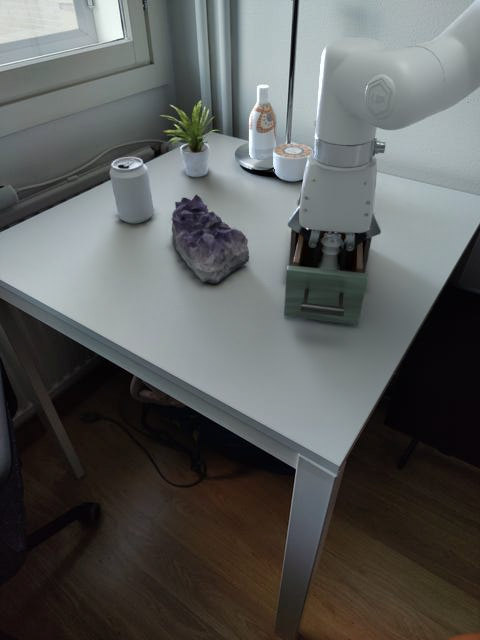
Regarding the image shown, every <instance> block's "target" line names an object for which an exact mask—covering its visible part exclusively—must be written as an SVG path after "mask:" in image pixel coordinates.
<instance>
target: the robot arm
mask: <svg viewBox="0 0 480 640" xmlns="http://www.w3.org/2000/svg"><path fill="white" fill-rule="evenodd" d="M479 88H480V0H474V1H473V2H472V3H471V4H470V5H469V6H468V7H467V8H466V9H465V10H464V11H463V12H462V13H461V14H460V15H459V16H458V17H456V19H455V20H454V21H453V22H451V24H450V25H448V26H447V27H446V28H445V29H444V30H442V32H441V33H440V34H439V35H437V36H436V37H435V38H434V39H432V40H429V41H424V42H420V43H416V44H413V45H410V46H407V47H405V48H399V49H395V50H390V51H389V50H388V48H387V46H386V44H385V43H384V42H383V41H381V40H379V39H375V38H371V37H361V36H360V37H359V36H357V37H356V36H352V37H351V36H349V37H341V38H336V39H334V40H331V41H330V42H328V43H327V44H326V45H325V47H324V48H323V51H322V53H321V60H320V71H319V83H318V95H317V108H316V118H315V121H316V131H315V130H314V134H315V135H314V145H313V153H311V154H310V155H309V156H308V159H307V163H306V167H305V172H304V178H303V179H302V186H301V188H302V192H301V201H300V205H299V206H298V208H297V209H296V208H295V210H294V212H293V213H292V214H291V216H290V217H289V218H288V221H287V227H288V228H289V229H293V230H294V231H296V232H298V233H300V235H301V236H302V237H303V238H304V239H305V240H306V241H307V242H308V243H309V246H310V247H311V249H310V260H309V262H314V265H313V268H318V264H319V255H320V246H321V240H320V237H319V235H320V231H321V230H323V231H335V232H346V239H345V240H344V242H343V244H342V251H341V258H340V268H339V271H344V269H345V265H347V266H349V265H350V259H351V252H352V250H354V247H356V246H357V245H359V244H360V243H362V242H363V241H365V240H366V239H367V238H371V237H372V238H373V237H376V236H379V235H380V234H381V233H382V226H381V224H380V222H379V219H378V217H377V215H376V213H375V211H374V206H375V199H376V190H377V189H376V188H377V173H378V166H377V165H378V164H377V158H376V157H375V156H376V155H378V154H385V151H386V141H380V140H378V138H376V134H377V128H378V129H381V130H384V131H385V130H386V131H398V130H401V129H405V128H407V127H411V126H412V125H414V124H417V123H419V122H421V121H423V120H425V119H427V118H429V117H432V116H434V115H436V114H439V113H441V112H444V111H446V110H448V109H450V108H453V107H454V106H455V105H457V104H458V103H460V102H461V101H463V100H465V99H466V98H467V97H469V96H470V95H471V94H473V93H474V92H475V91H477V90H478V89H479Z"/></svg>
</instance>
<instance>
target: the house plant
mask: <svg viewBox="0 0 480 640" xmlns="http://www.w3.org/2000/svg"><path fill="white" fill-rule="evenodd" d="M202 105H203V103H202V100H199V101H198V102H197V105H196V104H195V105H194V107H193V110H192V113H191V119H190V117H189V116H188V115H187V114H186V113H185V111H183V110H182V109H179V108H178V107H176V106H174V105H172V104H170V107H172V108H174V109H175V110H176V112H177V114H178V115H179V117H180V119H181V120H182V121H180V120H178V119H176V118H175V117H173V116H170V115H165V118H166V117H167V118H169V120H171V121H173V122H174V123H173V125H174V126H175V127H176V128H177V129H168V130H167V129H166V130H163V132H164V133H169V134H167V136H171V134H172V136H173V137H172V138H171V139H170V140H169V141H168V143H170V142H172V143H171V144H172V145H171V146H173V145H174V144H176V143H178V142H179V141H182V143H183V145H181V146H180V153H181V158H182V162H183V165H184V168H185V173H186V175H187V176H188V177H193V178H200V177H203V176H206V175H207V174H208V168H209V157H210V148H211V147H210V145H209V144H208V141H204V140H205V138H206V137H207V136H208V135H209V134H210V133H212V132H216V131H217V132H218V131H219V132H220V130H219V129H212V130H210V131H208V132H207V133H206V134H205V135H204V133H205V130H206V128H207V127H208V126H209V124H210V123H211V122H212V120H213V119H214V118H215V117H216V115H217V114H216V115H214V116H213V117H212V118H210V119H209V120H208V115H209V113H210V109H208V110H207V112H206V106H204V107H203V110H202V113H201V112H200V111H201V107H202ZM200 113H201V117H200ZM160 117H164V115H162V114H161V115H160ZM199 119H200V120H199ZM207 120H208V121H207ZM176 122H178V124H179V125H178V124H177V123H176ZM206 122H207V123H206ZM183 129H184V130H185V131H184V130H183ZM203 135H204V137H203ZM177 136H180V137H177ZM182 137H183V138H182ZM183 141H184V142H183Z"/></svg>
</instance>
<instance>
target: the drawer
mask: <svg viewBox="0 0 480 640" xmlns="http://www.w3.org/2000/svg"><path fill="white" fill-rule="evenodd" d="M319 237H320V240H321V239H322V238H323V237H324V235H319ZM341 239H342V240H343V242H344V240H345V239H346V237H341ZM323 246H324V245H323V244H322V242H321V246H320V255H319V263H320V261H321V258H322V254H323V251H322V247H323ZM310 249H311V247H310V246H309V243H308V242H307V241H306V240H305V239H304V238H303V237H302V236H301V235H300V233H299V238H298V243H297V247H296V252H295V257H294V262H293V266H290V265H289V264H288V265H287V267H286V276H285V290H284V291H285V293H284V308H283V316H284V317H292V318H302V319H309V320H318V321H325V322H334V323H340V324H341V323H342V324H350V325H359V321H360V317H361V312H362V307H363V302H364V297H365V292H366V287H367V283H368V273H366V272H365V273H362V251H363V242H362V243H360V244H359V245H357V246H356V247H354V250H352V252H351V259H350V265H349V266H347V265H345V269H344V271H339V270H329V269H320V268H313V265H314V262H309V260H310ZM339 249H340V252H339V254H338V263H339V266H340V258H341V251H342V245H341V246H340V247H339Z"/></svg>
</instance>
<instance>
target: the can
mask: <svg viewBox="0 0 480 640" xmlns="http://www.w3.org/2000/svg"><path fill="white" fill-rule="evenodd" d="M110 166H111V168H110V170H109V172H108V173H109V177H110V182H111V187H112V191H113V196H114V200H115V201H114V202H115V206H116V210H117V211H116V212H117V215H118V218H119V219H121V220H122V221H124V222H126V223H128V224H141V223H144V222H147V221H148V220H149V219H150V218H151V217H152V216H153V215H154V213H155V209H154V203H153V202H154V201H153V196H152V195H153V194H152V190H151V183H150V176H149V170H148V167H147V165H145V164H144V161H143V159H141V157H137V156H125V157H120V158H116V159H115V160H113V161H112V162H111V164H110Z"/></svg>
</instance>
